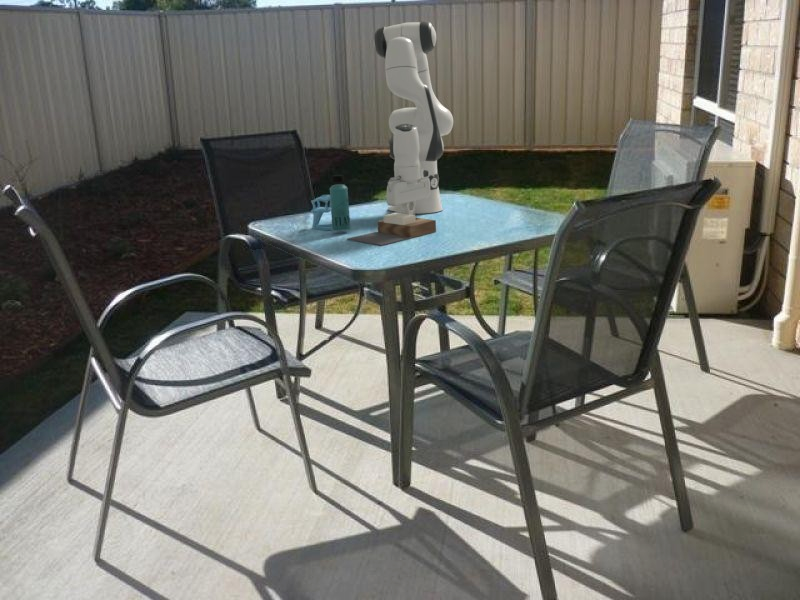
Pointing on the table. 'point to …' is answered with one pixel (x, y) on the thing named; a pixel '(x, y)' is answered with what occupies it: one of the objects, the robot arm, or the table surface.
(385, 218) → the cream tile
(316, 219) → the chair
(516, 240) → the table surface
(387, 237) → the charcoal mat
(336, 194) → the beverage bottle
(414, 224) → the block
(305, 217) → the table surface
